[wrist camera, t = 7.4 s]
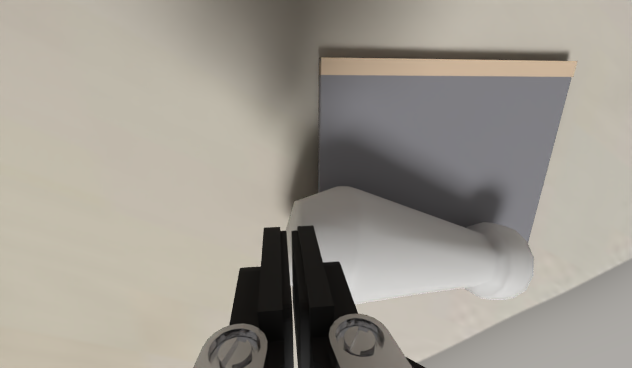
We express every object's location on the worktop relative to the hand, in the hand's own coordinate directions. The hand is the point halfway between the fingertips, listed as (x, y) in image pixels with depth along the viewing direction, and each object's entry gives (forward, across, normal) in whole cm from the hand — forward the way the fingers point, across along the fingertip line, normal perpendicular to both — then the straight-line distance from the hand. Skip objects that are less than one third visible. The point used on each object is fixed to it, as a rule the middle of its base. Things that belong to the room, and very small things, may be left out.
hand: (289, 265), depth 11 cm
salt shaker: (+4, 0, +1) cm, 4 cm away
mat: (+8, -9, 0) cm, 12 cm away
